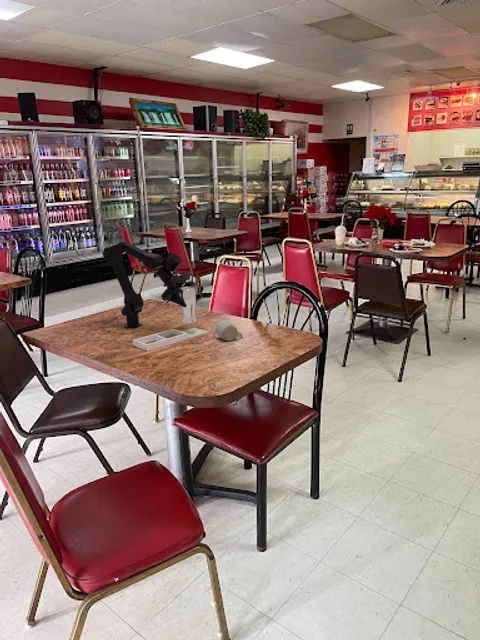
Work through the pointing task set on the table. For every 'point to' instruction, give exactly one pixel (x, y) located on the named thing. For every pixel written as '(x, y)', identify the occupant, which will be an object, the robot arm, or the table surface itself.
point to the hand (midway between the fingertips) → (190, 305)
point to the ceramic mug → (227, 330)
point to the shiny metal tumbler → (188, 304)
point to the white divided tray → (166, 338)
